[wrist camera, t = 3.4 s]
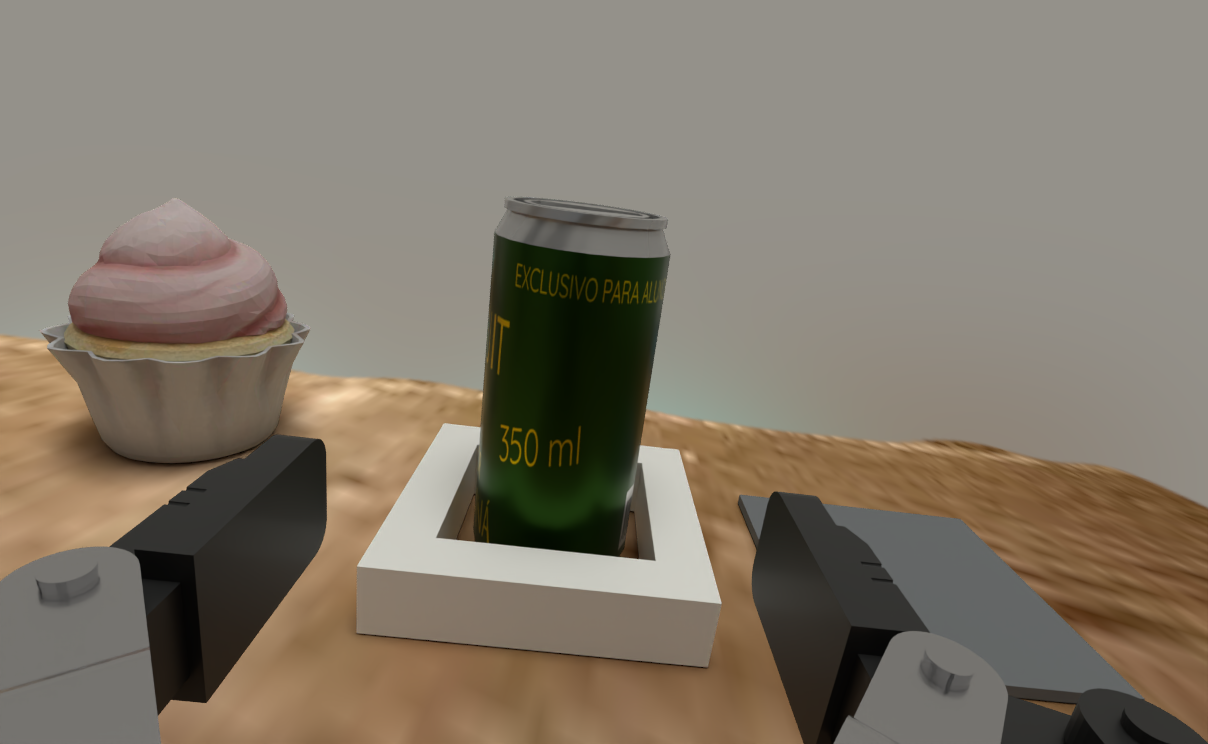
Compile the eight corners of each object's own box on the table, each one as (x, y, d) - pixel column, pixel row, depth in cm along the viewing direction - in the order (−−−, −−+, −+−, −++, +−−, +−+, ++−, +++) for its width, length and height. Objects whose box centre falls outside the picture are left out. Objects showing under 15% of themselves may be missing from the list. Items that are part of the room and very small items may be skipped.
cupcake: (301, 389, 34) (297, 197, 31) (325, 467, 26) (323, 223, 23) (77, 402, 29) (46, 176, 26) (29, 501, 22) (-23, 201, 18)
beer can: (612, 513, 26) (657, 211, 22) (632, 601, 21) (695, 227, 17) (477, 506, 25) (500, 192, 21) (464, 596, 20) (492, 202, 16)
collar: (356, 633, 18) (357, 566, 17) (441, 470, 27) (444, 423, 27) (707, 667, 18) (721, 604, 17) (670, 495, 28) (679, 449, 27)
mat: (809, 677, 18) (812, 666, 18) (737, 503, 28) (739, 494, 28) (1139, 709, 19) (1144, 698, 19) (957, 526, 28) (960, 519, 28)
